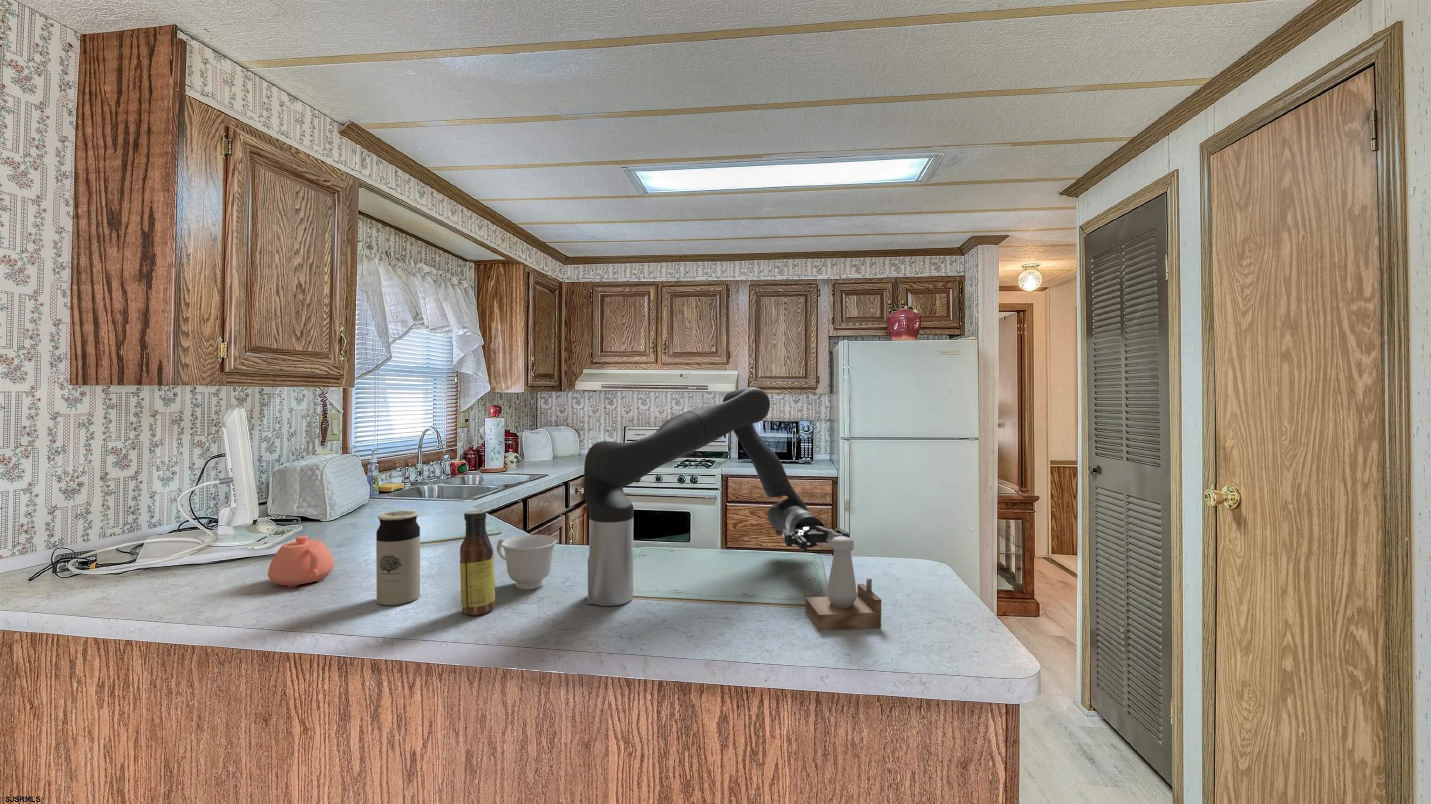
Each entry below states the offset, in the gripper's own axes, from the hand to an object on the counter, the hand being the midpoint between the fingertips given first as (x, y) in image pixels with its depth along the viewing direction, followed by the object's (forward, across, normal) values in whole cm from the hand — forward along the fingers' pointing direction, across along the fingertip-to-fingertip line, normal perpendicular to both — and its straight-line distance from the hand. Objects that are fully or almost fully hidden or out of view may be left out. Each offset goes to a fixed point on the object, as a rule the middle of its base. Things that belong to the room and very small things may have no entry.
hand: (825, 545), depth 122 cm
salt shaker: (+11, 0, +9) cm, 14 cm away
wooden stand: (+11, 0, +12) cm, 16 cm away
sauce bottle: (-1, -71, +12) cm, 72 cm away
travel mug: (-9, -89, +12) cm, 90 cm away
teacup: (-16, -65, +12) cm, 68 cm away
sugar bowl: (-23, -115, +12) cm, 118 cm away
